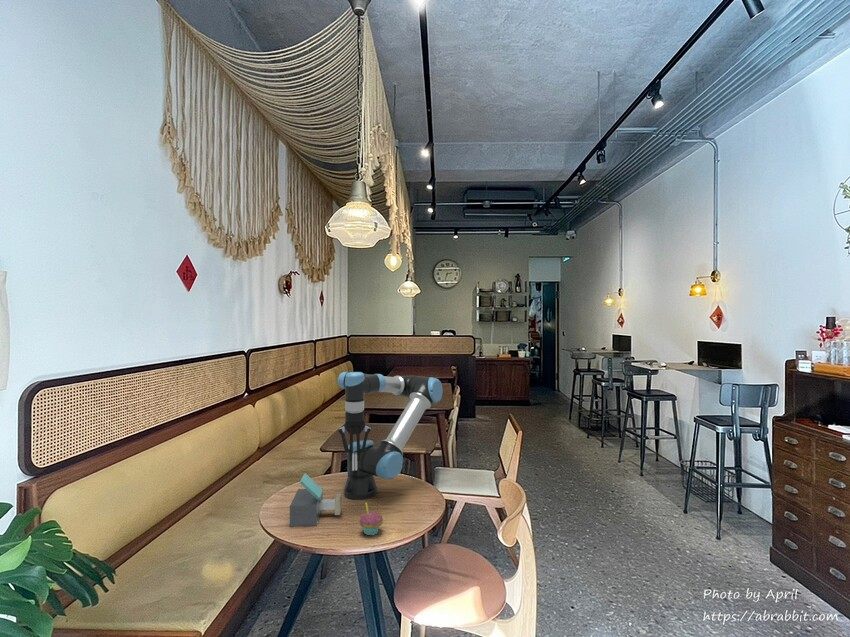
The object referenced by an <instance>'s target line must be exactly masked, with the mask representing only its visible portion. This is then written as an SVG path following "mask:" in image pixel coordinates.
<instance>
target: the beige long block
mask: <svg viewBox="0 0 850 637" xmlns="http://www.w3.org/2000/svg"><path fill="white" fill-rule="evenodd" d="M334 497H335V498H331V499H330V498H328V499H327V498H326V499H324V498H323V499H321V500H320V501H319V510H322V511H333V510H334V516H340V515H341V512H342V493H336V494H335V496H334Z"/></svg>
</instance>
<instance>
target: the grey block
mask: <svg viewBox="0 0 850 637" xmlns="http://www.w3.org/2000/svg"><path fill="white" fill-rule="evenodd" d="M321 488H322V489H323V487H321ZM323 494H324V491H322V494H321V497H320V499H319V500H318V499H316V498H315V497H314V496H313V495H312V494H311V493H310V492H309V491H308V490H307V489H306V488H298V489H297V491H296V493H295V494H294V497H293V498H292V501H291V503H290V504H289V527H290V528H295V527H294V526H302V527H317V526H318V523H319V520H318V519H320V517H319V516H321V514H322V511H321V510H319V501H320V500H321V499H324V497H323ZM320 513H321V514H320ZM317 522H318V523H317Z"/></svg>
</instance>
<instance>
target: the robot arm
mask: <svg viewBox="0 0 850 637" xmlns="http://www.w3.org/2000/svg"><path fill="white" fill-rule="evenodd" d="M337 384H338V387H340V388H341V389H343V390H344V391H345V394H344V395H345V398H344V399H345V402H344V404H345V405H344V406H345V413H344V414H345V415H344V416H345V420H344V422H345V423H344V425H343V426H342V427H339V429H338V433H339V434H340V435H341V436H340V437H341V441H342V445H343V448H344V452H345V453H346V458H347V459H346V460H347V463H346V464H347V467H346V468H347V476H346V480H345V483H344V486H343V497H346V498H347V499H350V500H355V499H361V500H367V499H370V497H371V498H373V497H375V496H376V495H377V494H378V485H377V481H376V478H375V477H378V478H380V479H386V480H392V479H394V478H396V477H398V475H399V474H400V473H401V471H402V470H403V466H404V464H403V463H404V457H403V456H404V453H403V449H404V448H405V445H406V443H407V442H408V441H409V439H410V437H411V435H412V433H413V432H414V430H415V428H416V426H417V425H418V424H419V421H420V420H421V418H422V416H423V414H424V413H425V411H426V410H428V409H430V408H431V407H432V405H433V404H434V403H435V404H436V403H439V402H440V401H441V399H442V397H443V392H444V390H443V384H442V382H441V380H440V379H438V378H436V377H432V376H431V377H430V376H429V377H428V376H419V375H394V376H384V375H383V374H381V373H374V374H368V373H363V372H362V371H352V372H351V371H343V372H340V373H339V375H338V377H337ZM375 393H390V394H391V393H392V394H393V395H394V396H401V397H405V398H408V399H410V400H408V401H409V402H408V403H407V405H406V406H405V408H404V410H403V411H402V412H401V413H400V414H401V415H400V416H399V417H398V419H397V421H396V422H395V424H394V425H393V427H392V429H391V431H390V432H389V434H388V436H387V437H386V439H382V440H381V441H380V442H379V444H378V446H375V445H374V444H375V443H374V441H373V440H370V439H369V440H368V436H369V434H370V432H371V430H372V429H371V426H367V425H366V422H365V411H364V410H365V395H368V394H375ZM346 431H347V433H348V434H349V444H348V440H347V437H346V433H345V432H346ZM363 431H364V432H365V433H364V436H363V440H361V433H362V432H363ZM354 435H356V436H355V437H356V441H354ZM366 498H367V499H366Z"/></svg>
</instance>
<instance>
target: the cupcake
mask: <svg viewBox="0 0 850 637" xmlns="http://www.w3.org/2000/svg"><path fill="white" fill-rule="evenodd" d="M365 509H366V510H365V511H366V512H365V513H364V514H362V515H361V516H360V518H359V525H360V527H362V529H363V533H364V535H365V534H367V535H373V534H376V533H377V534H378V532H379V528H380V527H381V526H382V525H383V523H384V521H383V518H382V515H381V514H379V513H378V512H376V511H375V512H374V511H369V507H368V502H367V501H365ZM377 534H376V535H377ZM367 535H366V536H367Z"/></svg>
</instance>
